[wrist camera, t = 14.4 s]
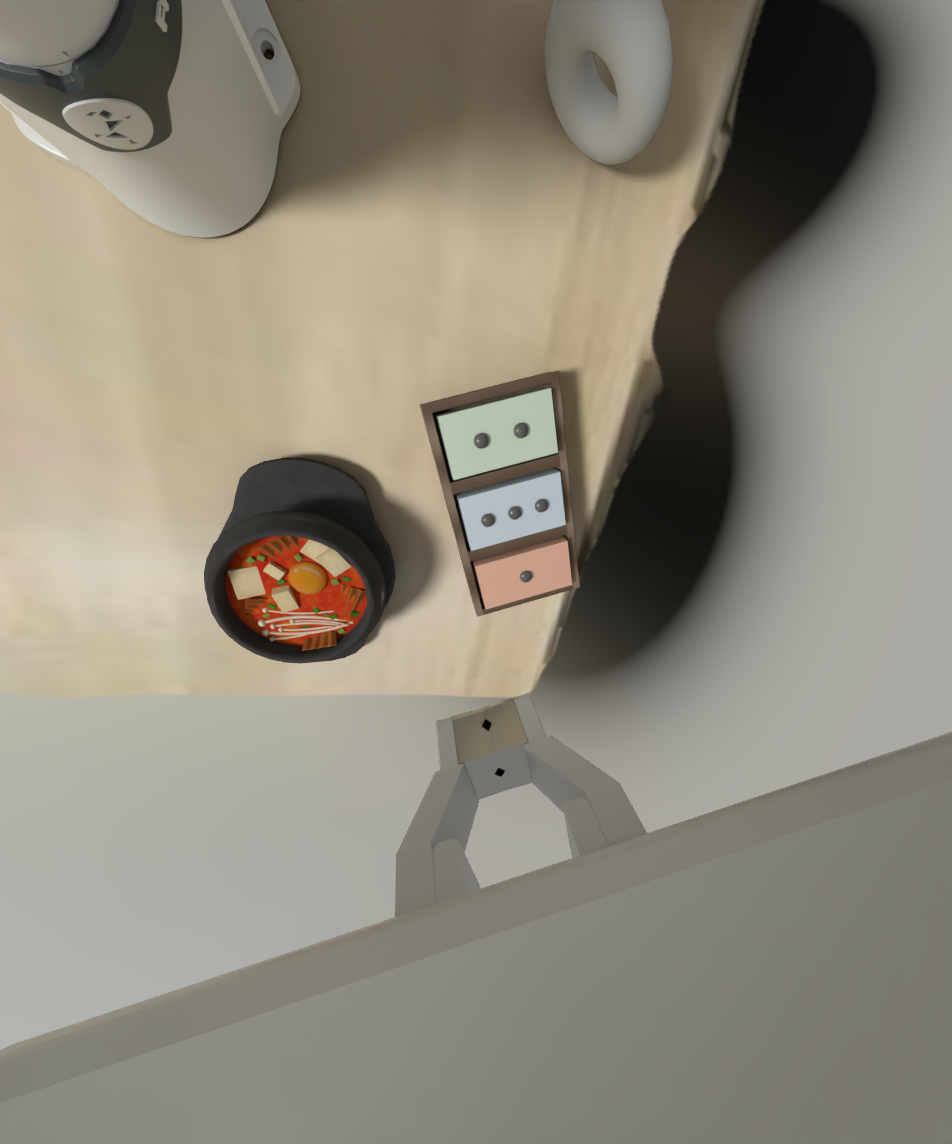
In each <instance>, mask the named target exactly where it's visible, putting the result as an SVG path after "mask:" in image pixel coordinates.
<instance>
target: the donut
mask: <svg viewBox="0 0 952 1144" xmlns="http://www.w3.org/2000/svg"><path fill="white" fill-rule="evenodd" d="M593 52H594V53H595V54H597V55H598V56H599V57H601V59H602V60H603V62H604V63H605V64H606V66H607V67H608V69H609V71H610V73H611V76H612V78H613V80H614V83H615V87H616V92H617V96H616V95H614V94H613V93H612V92H611V91H609V90H608V88H607V87H606V85H605V84H604V83H603V81H602V79H601V77H600V75H599V72H598V70H597V67H596V63H595V59H594V53H593ZM672 68H673V52H672V44H671V36H670V28H669V21H668V18H667V16H666V13H665V10H664V7H663V4H662V1H661V0H553V3H552V8H551V12H550V16H549V21H548V25H547V30H546V35H545V72H546V77H547V83H548V89H549V94H550V97H551V100H552V103H553V106H554V109H555V112H556V115H557V117H558V119H559V121H560V123H561V125H562V127H563V129H564V131H565V132H566V134H567V136H568V137H569V138H570V139H571V141H572V142H573V143H574V145H575V146H576V147H577V148H578V150H580V151H581V152H582V153H583V154H585V155H586V156H587V157H588V158H590V159H591V160H594V161H596V162H599V163H602V164H605V165H613V164H622V163H624V162H626V161H628V160H630V159H631V158H633V157H634V156H636V155H637V154H639V153H640V152H641V151H642V150H643V149H644V148H645V147H646V146H647V144H648V143H649V141H650V140H651V138H652V137H653V135H654V134H655V132H656V131H657V129H658V127H659V125H660V124H661V121H662V118H663V115H664V111H665V108H666V105H667V102H668V98H669V95H670V91H671V83H672Z"/></svg>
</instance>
